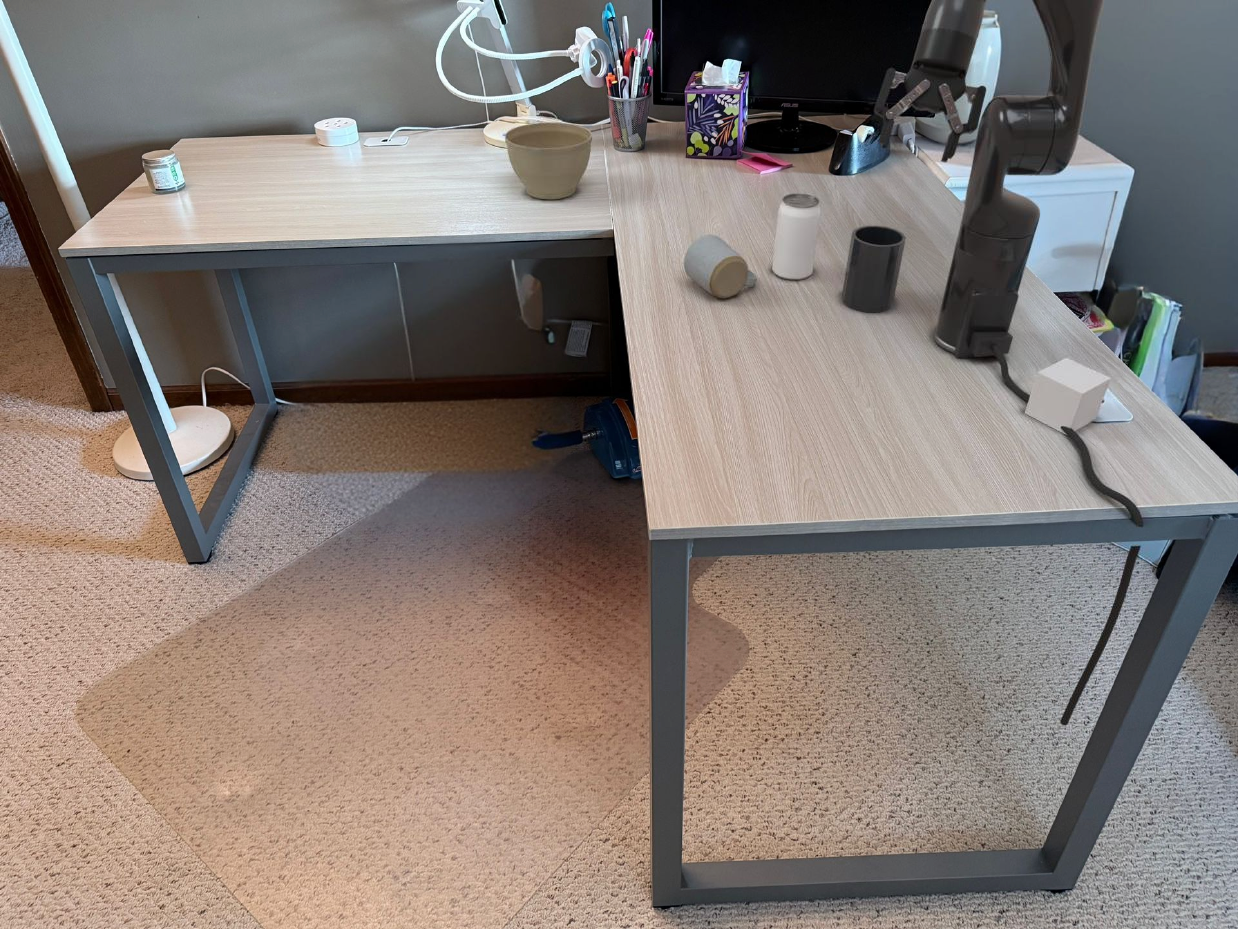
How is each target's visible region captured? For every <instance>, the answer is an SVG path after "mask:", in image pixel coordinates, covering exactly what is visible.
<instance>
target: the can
mask: <svg viewBox="0 0 1238 929" xmlns="http://www.w3.org/2000/svg"><path fill="white" fill-rule="evenodd" d="M821 213H822V211H821V207H820V199H819V197H817V196H816V195H813V194H808V193H801V192H797V193H796V192H795V193H789V194H786V195H784V196H783V197H782V202H781V203H780V205H779V207H778V212H777V221H776V229H775V237H774V238H775V239H774V248H773V258H772V265H771V270H772V272H773V274H774V275H776V276H777V277H779V278H781V279H783V280H789V281H801V280H804V279H807V278H809V277H810V276H811V275H812V274H813V270H814V265H815V257H816V250H817V245H818V244H817V243H818V236H819V229H820V222H821Z"/></svg>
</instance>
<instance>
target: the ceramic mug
mask: <svg viewBox="0 0 1238 929" xmlns="http://www.w3.org/2000/svg"><path fill="white" fill-rule="evenodd" d="M683 269H684V272H685V274H686V275H687V277H688V278H689V279H690V280H692V281H693V282H694V283H695V284H697V285H698V286H700V287H701V288H702V289H703V290H705V291H706V292H707V293H708V294H710V295H711V296H714V297H716V298H718V299H728V298H731V297H733V296H735V295H737V294H738V293H739V292H740V291H741V290H742V289H743V288H744V287H748V288H752V287H754V286H755V284H756V282H757V280H758V277H757V276H758V275H756V274H755V273H754V272H752V271H751V270H749V267H748V264H747V261H746V260H745V259H744V258H743V256H742V255H741V254H740V253H739V252H738V251H736V250H735V249H734V248H733V247H732V246H730V245H729V244H728V243H727V242H726V241H725V240H723V239H722V238H721V237H719V236H717V235H715V234H705V235H702V236H700V237H699V238H697V239H695V240H694V241H693V242H692V243H691V244H690V246H689V247H688V249H687V250H686V252H685V255H684V259H683Z"/></svg>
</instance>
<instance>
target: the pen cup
mask: <svg viewBox="0 0 1238 929" xmlns="http://www.w3.org/2000/svg"><path fill="white" fill-rule="evenodd" d="M850 236H851V237H850V242H849V248H848V255H847V261H846V266H845V267H846V268H845V273H844V280H843V285H842V291H841V301H842V303H843V304H844V305H845V306H846V307H848V308H849V309H852V310H854V311H858V312H862V313H869V314H874V313H883V312H885V311H888V310H890V309H891V308H892V307H893V305H894V300H895V296H896V292H897V285H898V281H899V275H900V270H901V265H902V262H903V261H902V260H903V257H904V256H903V255H904V252H905V245H906V242H907V241H906V240H907V237H906V235H905V234H904V232H902V231H900V230H898V229H896V228H893V227H889V226H883V225H864V226H859V227H857V228H855V229H853V230H852V233H851V235H850Z"/></svg>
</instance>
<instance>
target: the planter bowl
mask: <svg viewBox="0 0 1238 929" xmlns="http://www.w3.org/2000/svg"><path fill="white" fill-rule="evenodd" d="M504 140H505V145H506V149H507V150H506V151H507V155H508V159H509V162H510V165H511V167H512V170H513V172H514V174H515V175H516V177H517V178H518V180H519V181H520V183H521V184H522V185H523V186H524V189H525V192H526V194H527V195H528V196H530V197H533V198H536V199H540V200H541V199H542V200H559V199H564V198H567V197H570V196H572V195H574V193H575V192H576V189H577V185H578V183H579V182H580V181H581V180H582V179H583V176H584V174H585V172H586V171H587V168H588V165H589V161H590V157H591V148H592V140H593V133H592V131H591V130H590V129H588V128H586V127H584V126H581V125H577V124H574V123H573V124H572V123H566V122H554V121H553V122H552V121H550V122H545V121H544V122H535V123H528V124H523V125H518V126H516V127H513V128H511V129H509V130H507V131H506V133H505V134H504Z"/></svg>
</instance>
